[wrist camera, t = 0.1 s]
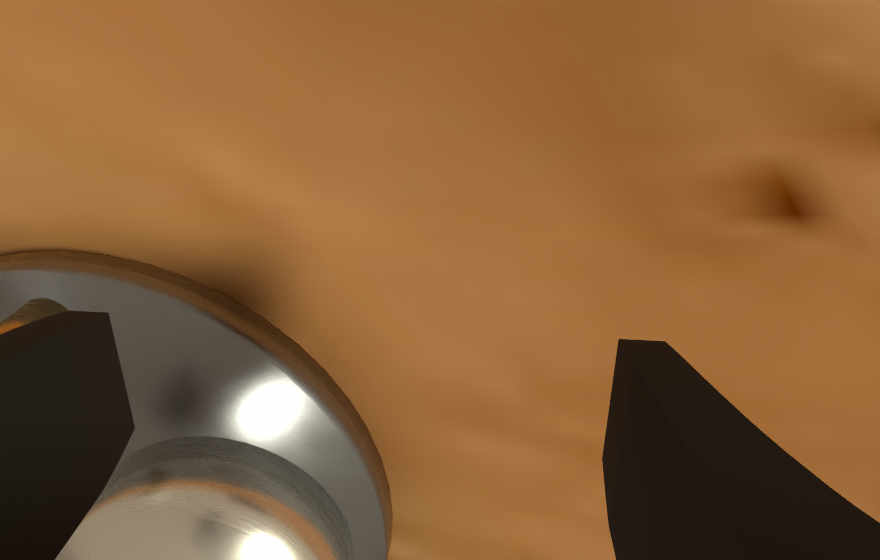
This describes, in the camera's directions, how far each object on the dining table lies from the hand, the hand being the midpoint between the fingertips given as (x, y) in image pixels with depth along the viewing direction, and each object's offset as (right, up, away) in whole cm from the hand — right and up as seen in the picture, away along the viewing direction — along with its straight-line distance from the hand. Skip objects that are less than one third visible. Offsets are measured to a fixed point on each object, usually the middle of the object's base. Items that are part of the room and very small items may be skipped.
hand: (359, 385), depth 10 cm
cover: (-6, -7, +12) cm, 15 cm away
